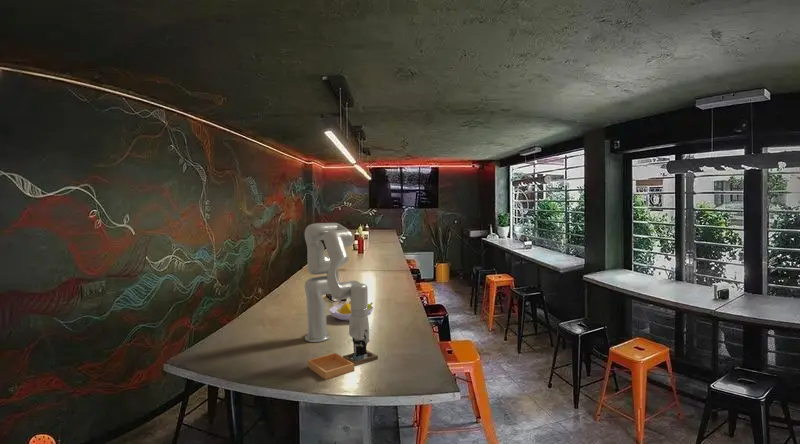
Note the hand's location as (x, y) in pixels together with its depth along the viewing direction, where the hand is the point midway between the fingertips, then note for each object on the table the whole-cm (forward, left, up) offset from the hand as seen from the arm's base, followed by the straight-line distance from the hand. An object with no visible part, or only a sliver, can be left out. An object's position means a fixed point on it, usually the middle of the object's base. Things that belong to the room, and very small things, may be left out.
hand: (359, 352), depth 172 cm
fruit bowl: (-58, +31, -3) cm, 66 cm away
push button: (0, 0, -3) cm, 3 cm away
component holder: (0, 0, -3) cm, 3 cm away
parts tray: (+1, -15, -3) cm, 15 cm away
